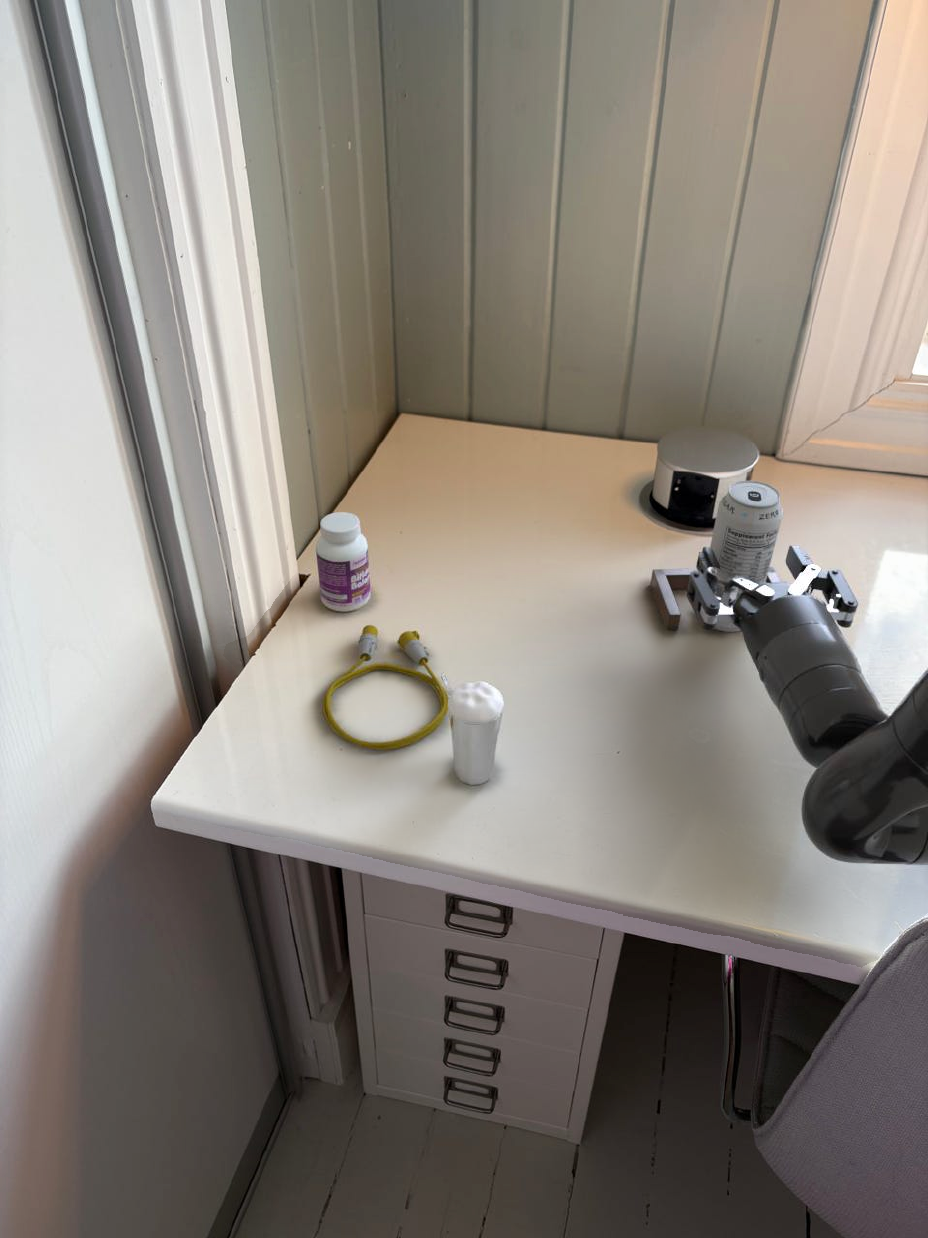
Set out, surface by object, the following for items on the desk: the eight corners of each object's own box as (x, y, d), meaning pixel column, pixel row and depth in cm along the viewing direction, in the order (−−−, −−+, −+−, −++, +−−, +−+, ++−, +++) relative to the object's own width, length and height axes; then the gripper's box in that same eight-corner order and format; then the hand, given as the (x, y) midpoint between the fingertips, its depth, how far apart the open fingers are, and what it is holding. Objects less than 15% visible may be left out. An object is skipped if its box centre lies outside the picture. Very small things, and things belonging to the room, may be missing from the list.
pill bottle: (363, 616, 97) (358, 538, 91) (314, 610, 98) (306, 533, 92) (376, 586, 101) (372, 510, 95) (329, 581, 102) (322, 505, 96)
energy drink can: (752, 603, 100) (783, 480, 90) (756, 638, 95) (790, 512, 86) (695, 597, 100) (720, 474, 91) (697, 631, 96) (723, 505, 86)
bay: (650, 584, 102) (652, 569, 101) (769, 581, 103) (773, 566, 102) (666, 630, 96) (669, 615, 95) (794, 627, 96) (798, 611, 95)
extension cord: (480, 659, 92) (481, 644, 91) (415, 769, 80) (415, 752, 79) (370, 630, 95) (369, 615, 94) (292, 730, 84) (290, 714, 82)
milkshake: (453, 743, 83) (454, 657, 77) (508, 762, 81) (513, 676, 75) (430, 777, 79) (428, 690, 73) (486, 798, 78) (490, 711, 71)
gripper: (899, 623, 76) (828, 519, 89) (728, 627, 75) (681, 522, 88) (873, 691, 81) (809, 583, 93) (712, 696, 80) (670, 586, 93)
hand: (747, 553), depth 91 cm, fingers open, 8 cm apart
